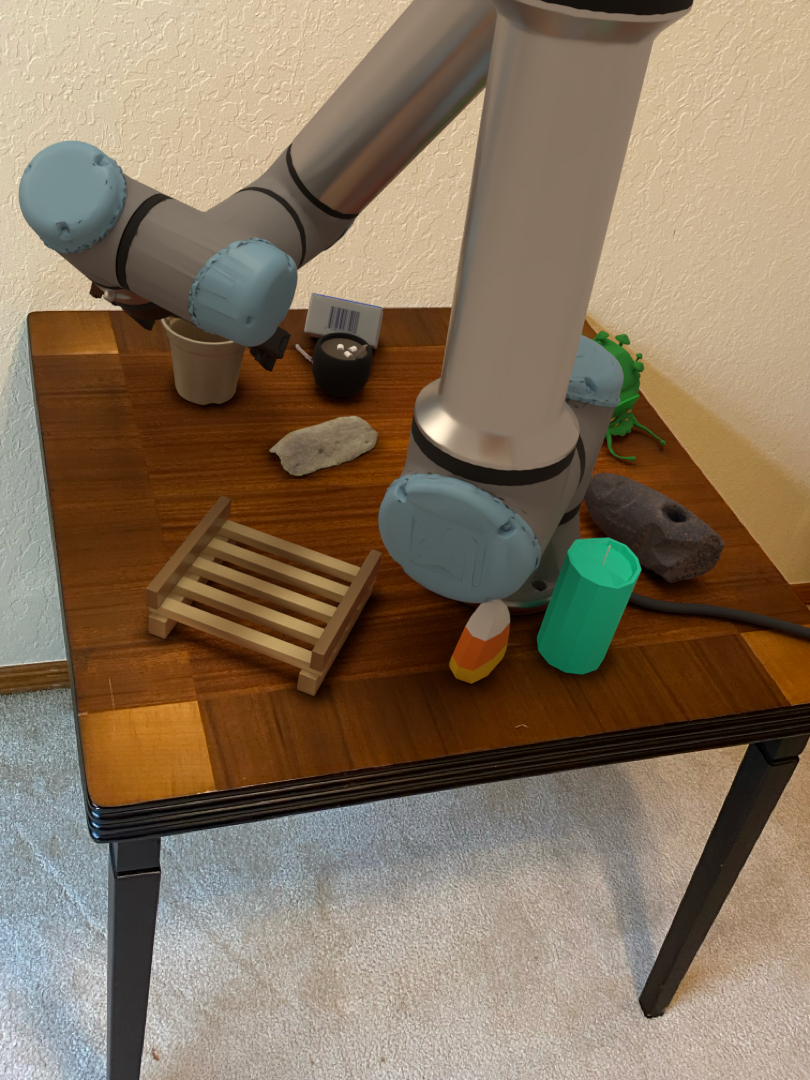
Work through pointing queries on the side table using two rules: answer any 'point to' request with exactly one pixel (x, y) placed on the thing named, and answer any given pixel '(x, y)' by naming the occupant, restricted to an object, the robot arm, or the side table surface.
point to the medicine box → (343, 318)
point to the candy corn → (481, 642)
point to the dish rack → (260, 593)
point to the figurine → (624, 389)
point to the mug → (341, 363)
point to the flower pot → (203, 362)
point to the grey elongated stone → (325, 444)
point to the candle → (587, 604)
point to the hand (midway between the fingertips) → (212, 338)
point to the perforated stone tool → (653, 527)
